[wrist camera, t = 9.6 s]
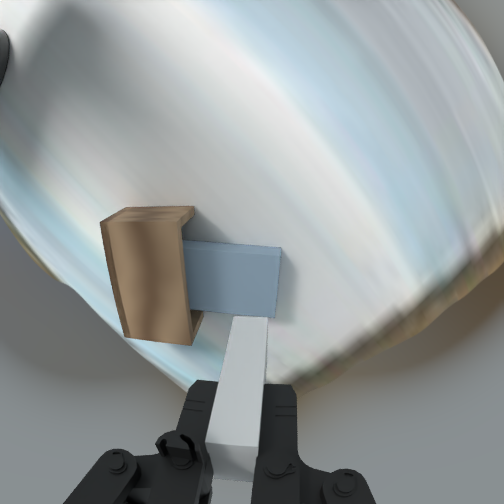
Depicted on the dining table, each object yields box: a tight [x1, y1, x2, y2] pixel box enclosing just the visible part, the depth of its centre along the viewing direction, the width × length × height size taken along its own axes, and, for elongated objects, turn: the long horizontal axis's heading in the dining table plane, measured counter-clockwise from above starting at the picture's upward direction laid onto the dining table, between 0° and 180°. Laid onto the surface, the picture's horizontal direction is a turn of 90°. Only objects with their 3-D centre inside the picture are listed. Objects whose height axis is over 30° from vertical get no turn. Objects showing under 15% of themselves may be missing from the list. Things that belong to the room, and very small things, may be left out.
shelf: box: [100, 206, 203, 346], centre depth 35 cm, size 9×15×6 cm, turn 0°
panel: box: [182, 240, 281, 318], centre depth 37 cm, size 15×8×3 cm, turn 87°
